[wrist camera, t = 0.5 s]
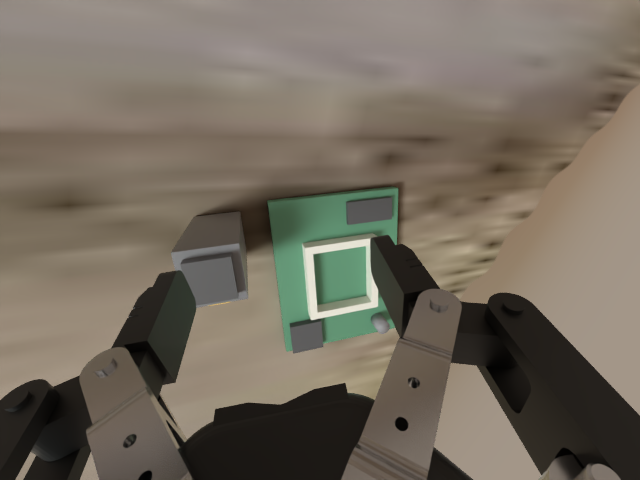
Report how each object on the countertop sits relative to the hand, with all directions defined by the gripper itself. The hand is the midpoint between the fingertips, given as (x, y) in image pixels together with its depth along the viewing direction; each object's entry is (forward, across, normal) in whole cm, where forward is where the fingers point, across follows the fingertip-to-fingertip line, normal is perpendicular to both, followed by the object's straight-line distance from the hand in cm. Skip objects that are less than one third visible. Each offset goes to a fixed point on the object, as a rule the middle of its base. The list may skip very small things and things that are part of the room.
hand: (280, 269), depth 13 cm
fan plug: (+16, +7, +7) cm, 19 cm away
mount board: (+16, -5, +14) cm, 22 cm away
